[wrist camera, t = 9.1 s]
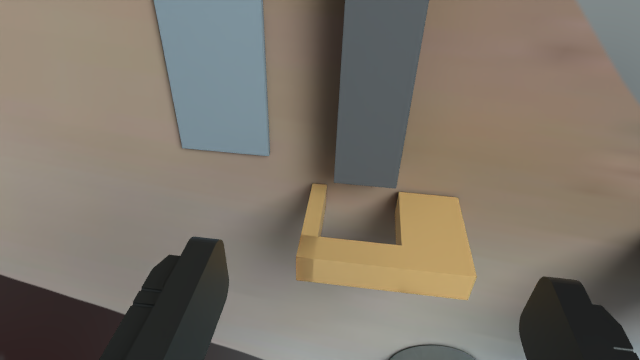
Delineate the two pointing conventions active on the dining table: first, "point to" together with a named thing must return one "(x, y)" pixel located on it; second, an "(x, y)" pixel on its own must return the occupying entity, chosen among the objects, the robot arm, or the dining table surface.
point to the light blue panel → (217, 73)
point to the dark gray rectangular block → (376, 88)
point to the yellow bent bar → (393, 250)
